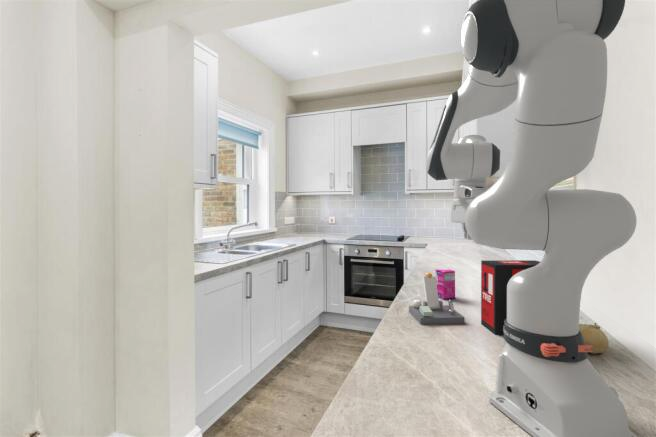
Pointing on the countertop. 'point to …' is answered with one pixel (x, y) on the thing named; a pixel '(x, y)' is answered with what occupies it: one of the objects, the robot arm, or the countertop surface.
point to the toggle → (451, 307)
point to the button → (417, 303)
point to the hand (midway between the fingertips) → (468, 239)
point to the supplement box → (445, 283)
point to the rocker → (425, 311)
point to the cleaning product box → (498, 290)
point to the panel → (437, 315)
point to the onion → (594, 338)
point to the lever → (431, 291)
